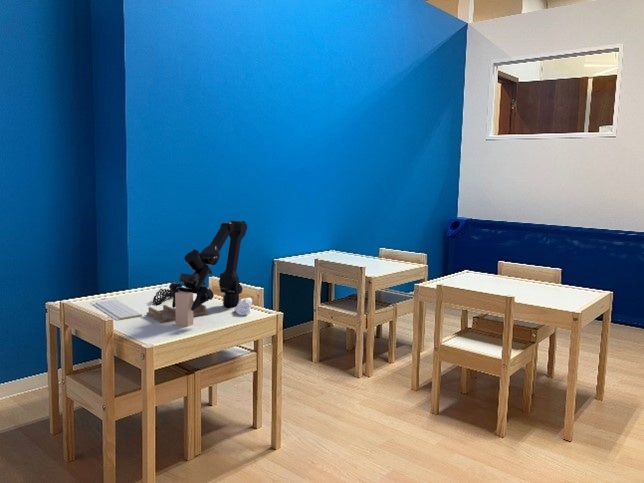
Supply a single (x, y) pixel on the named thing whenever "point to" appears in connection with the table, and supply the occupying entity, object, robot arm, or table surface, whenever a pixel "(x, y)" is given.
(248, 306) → the baby figurine
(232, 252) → the robot arm
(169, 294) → the decorative element
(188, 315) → the pinkish tan block
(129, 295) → the table surface
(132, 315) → the baseboard molding
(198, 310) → the drying rack
